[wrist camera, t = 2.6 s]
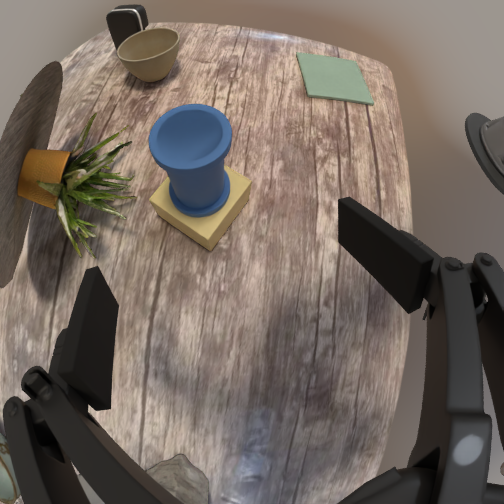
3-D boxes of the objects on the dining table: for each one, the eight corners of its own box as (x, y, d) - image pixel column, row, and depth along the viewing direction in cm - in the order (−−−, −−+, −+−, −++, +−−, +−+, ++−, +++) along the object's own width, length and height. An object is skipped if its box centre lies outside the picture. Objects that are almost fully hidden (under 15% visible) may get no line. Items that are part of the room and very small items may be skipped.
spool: (229, 162, 31) (230, 101, 21) (231, 216, 29) (233, 167, 20) (171, 165, 30) (153, 107, 20) (169, 219, 29) (144, 172, 19)
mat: (354, 63, 44) (355, 61, 44) (373, 105, 41) (374, 103, 41) (296, 54, 43) (296, 52, 42) (307, 97, 40) (308, 94, 40)
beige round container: (195, 67, 40) (193, 35, 33) (151, 100, 38) (142, 68, 31) (158, 51, 41) (152, 22, 34) (116, 80, 39) (105, 52, 32)
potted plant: (90, 320, 37) (172, 313, 20) (-16, 290, 25) (-58, 245, 9) (121, 175, 45) (208, 89, 29) (36, 139, 34) (84, 19, 17)
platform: (197, 167, 36) (193, 146, 31) (249, 199, 35) (252, 181, 30) (158, 215, 34) (148, 199, 29) (210, 251, 33) (208, 240, 29)
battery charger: (156, 47, 41) (147, 1, 30) (145, 58, 40) (134, 11, 29) (127, 45, 41) (115, 3, 30) (116, 56, 40) (102, 13, 29)
